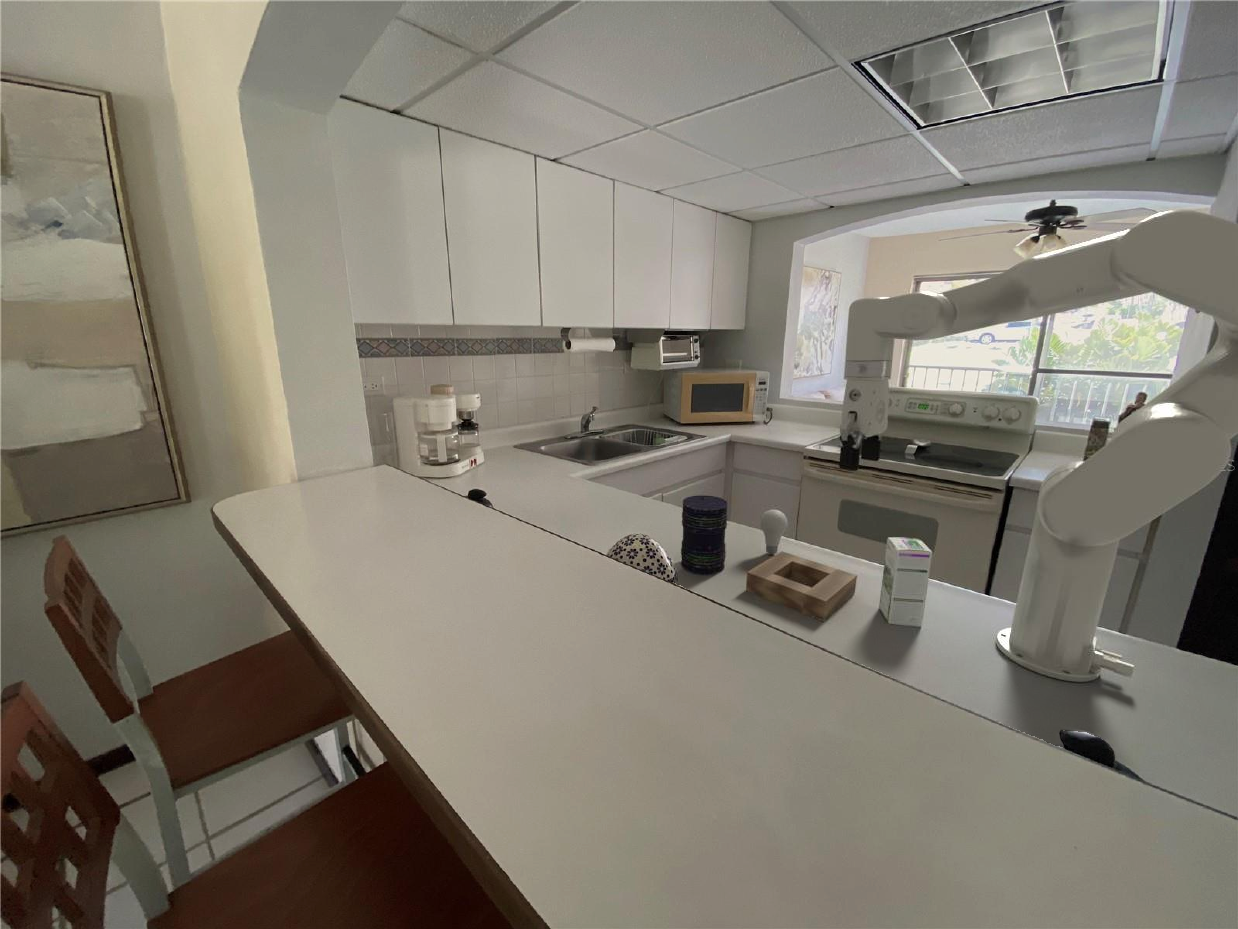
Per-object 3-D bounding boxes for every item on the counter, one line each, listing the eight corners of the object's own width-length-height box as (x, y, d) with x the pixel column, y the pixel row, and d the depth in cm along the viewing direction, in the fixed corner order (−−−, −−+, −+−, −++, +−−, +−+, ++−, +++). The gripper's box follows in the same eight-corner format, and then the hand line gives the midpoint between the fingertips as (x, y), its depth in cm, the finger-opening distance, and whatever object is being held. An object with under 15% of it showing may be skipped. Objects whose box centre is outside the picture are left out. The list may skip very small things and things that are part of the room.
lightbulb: (788, 552, 117) (791, 508, 114) (780, 562, 112) (784, 516, 109) (762, 547, 120) (765, 504, 117) (754, 556, 115) (757, 511, 112)
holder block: (854, 593, 98) (857, 575, 97) (823, 621, 88) (826, 601, 87) (780, 567, 109) (781, 551, 108) (745, 590, 99) (747, 572, 98)
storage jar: (729, 575, 106) (732, 509, 102) (683, 575, 106) (685, 510, 102) (719, 555, 115) (722, 494, 112) (678, 556, 115) (679, 495, 112)
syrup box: (923, 627, 86) (935, 551, 83) (886, 624, 87) (897, 548, 84) (911, 610, 92) (922, 538, 88) (876, 607, 93) (886, 535, 89)
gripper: (870, 374, 79) (862, 477, 83) (907, 368, 90) (897, 459, 94) (824, 373, 84) (818, 470, 88) (864, 368, 96) (857, 454, 100)
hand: (859, 464), depth 91 cm, fingers open, 9 cm apart
